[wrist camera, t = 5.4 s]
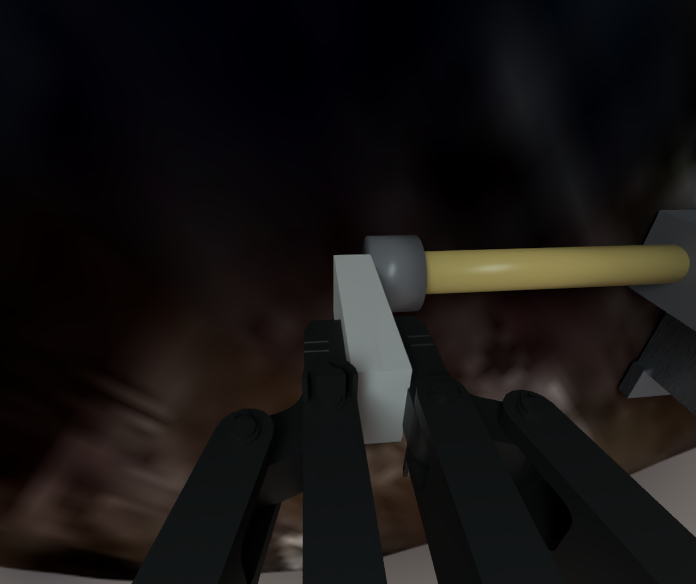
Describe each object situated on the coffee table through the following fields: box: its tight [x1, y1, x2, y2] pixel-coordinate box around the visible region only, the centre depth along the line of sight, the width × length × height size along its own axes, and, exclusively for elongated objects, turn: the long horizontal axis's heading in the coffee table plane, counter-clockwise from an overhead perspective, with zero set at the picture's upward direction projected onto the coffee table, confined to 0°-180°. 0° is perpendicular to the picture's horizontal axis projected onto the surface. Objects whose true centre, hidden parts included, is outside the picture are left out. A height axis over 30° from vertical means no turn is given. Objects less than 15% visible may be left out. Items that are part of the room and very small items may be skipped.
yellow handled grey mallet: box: [362, 210, 696, 331], centre depth 15 cm, size 19×4×6 cm, turn 89°
